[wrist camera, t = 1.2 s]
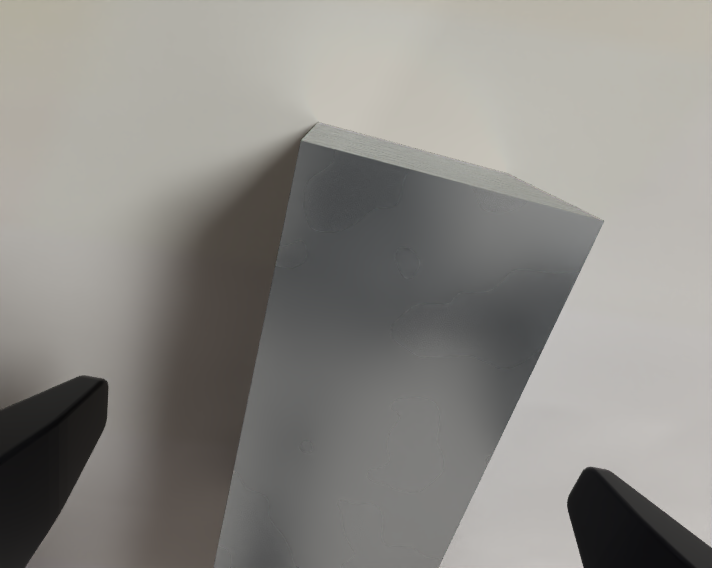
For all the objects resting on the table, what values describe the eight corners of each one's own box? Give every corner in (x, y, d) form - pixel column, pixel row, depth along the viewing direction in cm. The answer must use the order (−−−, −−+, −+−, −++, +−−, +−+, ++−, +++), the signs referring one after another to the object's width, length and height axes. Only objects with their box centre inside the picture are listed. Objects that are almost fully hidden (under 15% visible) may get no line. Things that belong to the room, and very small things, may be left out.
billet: (504, 171, 10) (604, 220, 6) (377, 509, 13) (389, 669, 10) (319, 121, 9) (300, 139, 5) (240, 486, 13) (197, 645, 9)
